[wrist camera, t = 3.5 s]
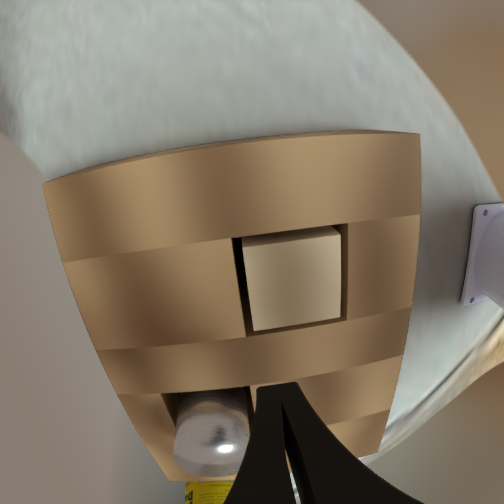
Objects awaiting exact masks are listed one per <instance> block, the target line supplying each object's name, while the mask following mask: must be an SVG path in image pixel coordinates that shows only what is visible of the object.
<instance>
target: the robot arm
mask: <svg viewBox="0 0 504 504" xmlns="http://www.w3.org/2000/svg"><path fill="white" fill-rule="evenodd" d="M484 210H485V212H484ZM483 213H484V214H483ZM489 299H491V300H493V301H494V302H495V303H496V304H497V305H499V306H500V307H501V308H502V309H503V310H504V203H496V204H485V205H478V206H476V207H475V209H474V213H473V224H472V234H471V242H470V250H469V257H468V264H467V270H466V276H465V282H464V287H463V292H462V297H461V304H462V305H463V306H464V307H466V306H470V305H473V304H476V303H479V302H482V301H485V300H489ZM285 450H286V451H285ZM286 453H287V457H288V460H289V463H290V467H291V470H292V473H293V477H294V480H295V483H296V487H297V490H298V493H299V497H300V501H301V504H424V503H422V502H420V501H418V500H416V499H414V498H412V497H411V496H409V495H407V494H405V493H404V492H402V491H400V490H398V489H397V488H395V487H394V486H393V485H391V484H390V483H388V482H387V481H385V480H384V479H382V478H381V477H379V476H378V475H377V474H375V473H374V472H373V471H372V470H370V469H369V468H368V467H367V466H365V465H364V464H363V463H362V462H361V461H360V460H359V459H357V458H356V457H355V456H354V455H353V454H352V453H351V452H350V451H349V450H348V449H347V448H346V447H345V446H344V445H343V444H342V443H341V442H340V441H339V440H338V439H337V438H336V436H335V435H334V434H333V433H332V432H331V431H330V430H329V428H328V427H327V426H326V425H325V423H324V422H323V421H322V420H321V418H320V417H319V416H318V414H317V413H316V412H315V410H314V409H313V407H312V406H311V404H310V403H309V401H308V400H307V398H306V397H305V395H304V393H303V392H302V390H301V388H300V386H299V384H298V383H297V382H295V381H294V382H288V383H281V384H275V385H268V386H260V387H258V388H257V389H256V408H255V415H254V421H253V425H252V430H251V434H250V438H249V442H248V445H247V448H246V451H245V454H244V457H243V460H242V463H241V466H240V468H239V471H238V473H237V476H236V478H235V480H234V483H233V485H232V487H231V489H230V491H229V493H228V495H227V497H226V499H225V501H224V503H223V504H296V500H295V496H294V491H293V487H292V483H291V478H290V473H289V469H288V464H287V459H286Z"/></svg>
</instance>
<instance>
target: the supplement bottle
mask: <svg viewBox="0 0 504 504" xmlns="http://www.w3.org/2000/svg"><path fill="white" fill-rule="evenodd" d="M234 480H235V479H233V480H218V481H193V482H186V496H185V504H223V503H224V501H225V499H226V497H227V495H228V493H229V491H230V489H231V487H232V485H233V483H234Z"/></svg>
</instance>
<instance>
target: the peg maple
mask: <svg viewBox="0 0 504 504" xmlns="http://www.w3.org/2000/svg"><path fill="white" fill-rule="evenodd" d="M241 242H242V249H243V257H244V264H245V271H246V279H247V286H248V293H249V300H250V307H251V314H252V321H253V328H254V331H258V330H265V329H272V328H278V327H285V326H291V325H298V324H304V323H310V322H316V321H321V320H327V319H332V318H338V317H340V306H341V235H340V234H339V233H338V232H337V231H336V230H335V229H334V228H333V227H332V226H331V225H327V226H319V227H312V228H304V229H296V230H288V231H280V232H273V233H265V234H258V235H250V236H243V237H241Z"/></svg>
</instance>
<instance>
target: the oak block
mask: <svg viewBox="0 0 504 504" xmlns="http://www.w3.org/2000/svg"><path fill="white" fill-rule="evenodd" d="M42 186H43V190H44V195H45V199H46V203H47V208H48V212H49V216H50V220H51V224H52V227H53V232H54V235H55V239H56V242H57V246H58V249H59V253H60V256H61V259H62V262H63V266H64V269H65V272H66V275H67V278H68V281H69V284H70V287H71V289H72V292H73V295H74V297H75V300H76V303H77V306H78V308H79V311H80V313H81V316H82V319H83V321H84V324H85V326H86V329H87V331H88V333H89V336H90V338H91V341H92V343H93V345H94V347H95V349H96V352H97V354H98V356H99V359H100V361H101V363H102V365H103V367H104V369H105V371H106V374H107V376H108V378H109V379H110V382H111V384H112V386H113V388H114V390H115V391H116V393H117V395H118V397H119V399H120V401H121V403H122V405H123V407H124V409H125V410H126V412H127V414H128V416H129V418H130V419H131V421H132V423H133V425H134V426H135V428H136V430H137V432H138V433H139V435H140V437H141V438H142V440H143V441H144V443H145V445H146V446H147V448H148V450H149V451H150V453H151V454H152V456H153V458H154V459H155V461H156V462H157V464H158V465H159V466H160V468H161V470H162V471H163V473H164V474H165V476H166V477H167V479H168V480H169V481H170V482H193V481H218V480H233V479H235V478H236V476H237V474H235V475H231V476H226V477H205V476H199V475H195V474H192V473H189V472H187V471H185V470H183V469H182V468H180V467H179V466H178V465H177V464H176V463H175V461H174V459H173V452H174V442H175V433H176V424H177V415H178V407H179V399H180V392H192V391H204V390H215V389H225V388H234V387H244V389H245V392H246V401H247V412H248V422H249V433H250V434H251V430H252V425H253V421H254V415H255V408H256V389H257V388H258V387H260V386H268V385H275V384H281V383H288V382H294V381H295V382H297V383H298V384H299V386H300V388H301V390H302V392H303V393H304V395H305V397H306V398H307V400H308V401H309V403H310V404H311V406H312V407H313V409H314V410H315V412H316V413H317V414H318V416H319V417H320V418H321V420H322V421H323V422H324V423H325V425H326V426H327V427H328V428H329V430H330V431H331V432H332V433H333V434H334V435H335V436H336V438H337V439H338V440H339V441H340V442H341V443H342V444H343V445H344V446H345V447H346V448H347V449H348V450H349V451H350V452H351V453H352V454H353V455H354V456H355V457H356V458H359V457H363V456H366V455H370V454H373V453H377V452H378V449H379V446H380V443H381V440H382V437H383V434H384V430H385V427H386V424H387V420H388V417H389V413H390V409H391V406H392V402H393V398H394V394H395V390H396V386H397V382H398V377H399V373H400V368H401V364H402V359H403V354H404V349H405V344H406V338H407V333H408V327H409V321H410V314H411V308H412V301H413V293H414V285H415V277H416V267H417V257H418V244H419V229H420V207H421V149H420V134H417V133H407V132H395V131H381V130H350V131H327V132H311V133H297V134H285V135H274V136H264V137H255V138H246V139H238V140H230V141H222V142H215V143H208V144H202V145H195V146H189V147H183V148H177V149H172V150H166V151H161V152H155V153H150V154H145V155H140V156H135V157H131V158H126V159H122V160H117V161H113V162H108V163H104V164H100V165H96V166H92V167H88V168H85V169H82V170H79V171H76V172H73V173H70V174H67V175H65V176H62V177H59V178H56V179H54V180H51V181H48V182H46V183H43V184H42ZM327 225H331V226H332V227H333V228H334V229H335V230H336V231H337V232H338V233H339V234H340V235H341V306H340V317H338V318H332V319H327V320H321V321H316V322H310V323H304V324H298V325H291V326H285V327H278V328H272V329H265V330H258V331H254V328H253V321H252V314H251V307H250V300H249V293H248V286H245V287H241V285H240V278H239V272H238V265H237V258H236V251H235V244H234V238H235V237H243V236H250V235H258V234H265V233H273V232H280V231H288V230H296V229H304V228H312V227H319V226H327ZM285 451H286V450H285ZM286 459H287V464H288V469H289V473H290V472H292V470H291V467H290V463H289V460H288V457H287V453H286Z"/></svg>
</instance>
